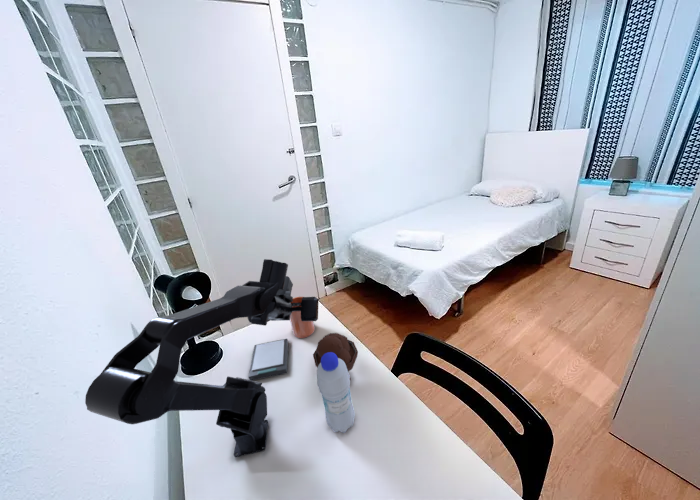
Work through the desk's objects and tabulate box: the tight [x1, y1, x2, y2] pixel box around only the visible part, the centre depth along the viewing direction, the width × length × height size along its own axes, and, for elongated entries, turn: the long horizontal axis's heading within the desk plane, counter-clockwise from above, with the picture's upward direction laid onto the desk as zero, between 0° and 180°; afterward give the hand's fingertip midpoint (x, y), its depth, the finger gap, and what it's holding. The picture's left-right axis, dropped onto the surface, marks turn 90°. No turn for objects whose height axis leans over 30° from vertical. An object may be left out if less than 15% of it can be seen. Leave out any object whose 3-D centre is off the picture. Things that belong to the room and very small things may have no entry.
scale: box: [247, 338, 289, 381], centre depth 80 cm, size 12×10×2 cm
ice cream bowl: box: [312, 332, 359, 381], centre depth 69 cm, size 11×11×15 cm
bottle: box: [316, 352, 355, 434], centre depth 58 cm, size 7×7×20 cm
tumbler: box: [289, 296, 316, 339], centre depth 88 cm, size 7×7×11 cm
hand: (293, 313), depth 82 cm, fingers open, 9 cm apart
